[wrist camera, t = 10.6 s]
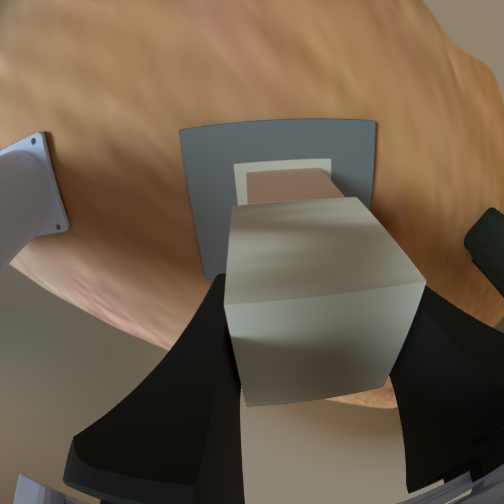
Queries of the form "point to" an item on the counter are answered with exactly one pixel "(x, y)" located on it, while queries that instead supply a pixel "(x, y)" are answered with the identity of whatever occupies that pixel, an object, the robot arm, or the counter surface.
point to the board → (267, 168)
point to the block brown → (289, 185)
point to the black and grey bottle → (488, 247)
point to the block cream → (315, 299)
